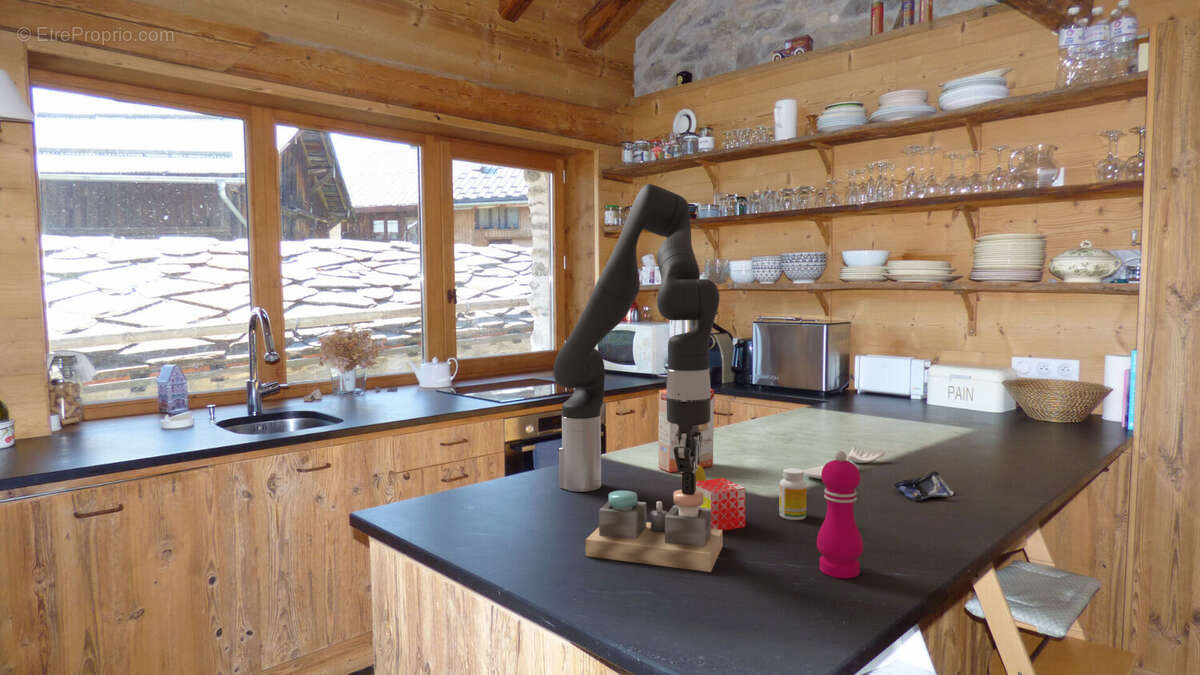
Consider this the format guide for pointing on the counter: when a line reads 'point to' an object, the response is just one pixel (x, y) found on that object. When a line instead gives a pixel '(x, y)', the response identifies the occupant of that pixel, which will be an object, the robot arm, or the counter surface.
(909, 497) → the snack package
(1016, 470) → the counter surface
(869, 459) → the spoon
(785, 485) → the supplement bottle
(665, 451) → the cracker box
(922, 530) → the counter surface
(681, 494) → the knob right
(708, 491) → the red patterned cube box
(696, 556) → the mount
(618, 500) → the knob left
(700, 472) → the lemon
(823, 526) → the pepper mill
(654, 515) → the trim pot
